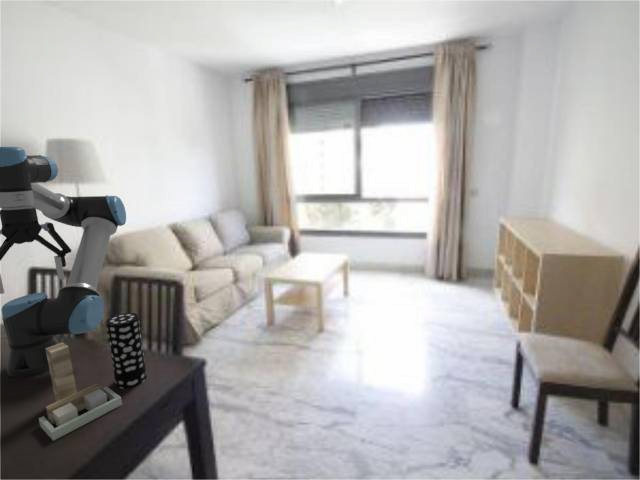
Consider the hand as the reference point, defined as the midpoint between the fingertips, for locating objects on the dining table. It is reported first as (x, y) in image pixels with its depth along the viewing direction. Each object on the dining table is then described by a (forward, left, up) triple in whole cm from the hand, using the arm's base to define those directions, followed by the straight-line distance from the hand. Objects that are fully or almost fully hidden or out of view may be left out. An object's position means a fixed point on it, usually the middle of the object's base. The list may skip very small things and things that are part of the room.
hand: (32, 285), depth 100 cm
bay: (+20, 0, -32) cm, 37 cm away
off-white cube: (+20, -3, -32) cm, 38 cm away
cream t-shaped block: (+13, 0, -31) cm, 34 cm away
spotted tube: (+15, +15, -32) cm, 38 cm away
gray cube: (+20, +4, -32) cm, 38 cm away
